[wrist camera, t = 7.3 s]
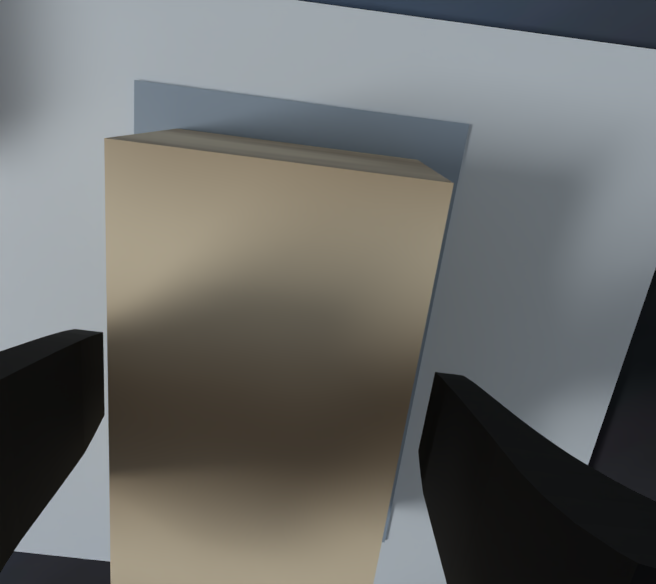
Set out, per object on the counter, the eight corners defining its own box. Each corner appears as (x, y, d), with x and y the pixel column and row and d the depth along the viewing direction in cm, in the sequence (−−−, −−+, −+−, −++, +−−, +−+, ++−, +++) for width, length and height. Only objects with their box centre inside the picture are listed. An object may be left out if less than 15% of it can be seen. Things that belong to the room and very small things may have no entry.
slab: (355, 509, 15) (362, 639, 12) (167, 488, 15) (110, 613, 11) (417, 159, 12) (453, 183, 8) (177, 128, 12) (104, 137, 8)
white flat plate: (534, 596, 17) (540, 610, 17) (-30, 535, 17) (-41, 548, 16) (714, 61, 12) (730, 58, 11) (-103, -52, 11) (-123, -59, 11)
